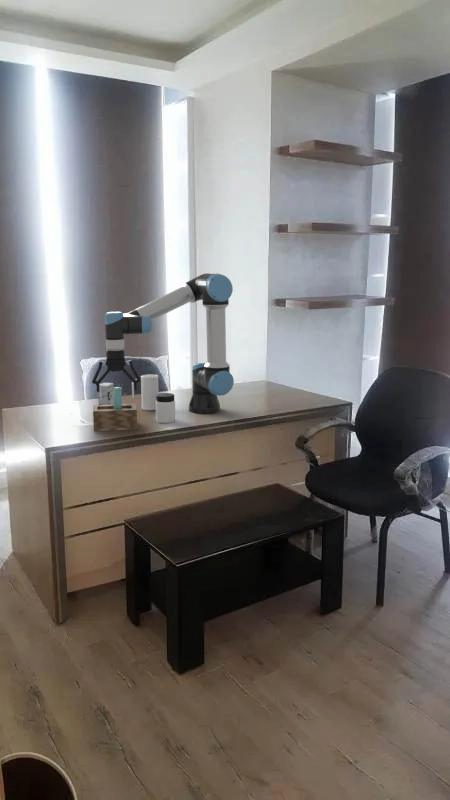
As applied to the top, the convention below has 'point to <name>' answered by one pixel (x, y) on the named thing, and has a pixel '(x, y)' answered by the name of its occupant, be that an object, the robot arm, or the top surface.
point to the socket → (114, 417)
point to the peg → (117, 398)
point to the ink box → (106, 394)
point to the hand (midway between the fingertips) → (117, 398)
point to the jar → (165, 408)
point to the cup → (149, 391)
